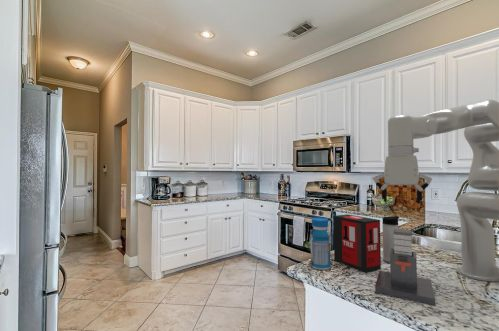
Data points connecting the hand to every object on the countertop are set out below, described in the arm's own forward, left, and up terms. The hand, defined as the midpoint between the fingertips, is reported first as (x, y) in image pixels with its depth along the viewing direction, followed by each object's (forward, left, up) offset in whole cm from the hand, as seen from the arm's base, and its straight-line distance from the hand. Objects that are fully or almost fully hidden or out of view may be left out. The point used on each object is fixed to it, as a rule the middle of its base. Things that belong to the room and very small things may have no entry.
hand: (401, 202), depth 87 cm
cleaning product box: (+17, -16, -29) cm, 38 cm away
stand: (0, 0, -29) cm, 29 cm away
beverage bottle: (+30, -6, -29) cm, 42 cm away
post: (0, 0, -27) cm, 27 cm away
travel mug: (+5, -28, -29) cm, 41 cm away
